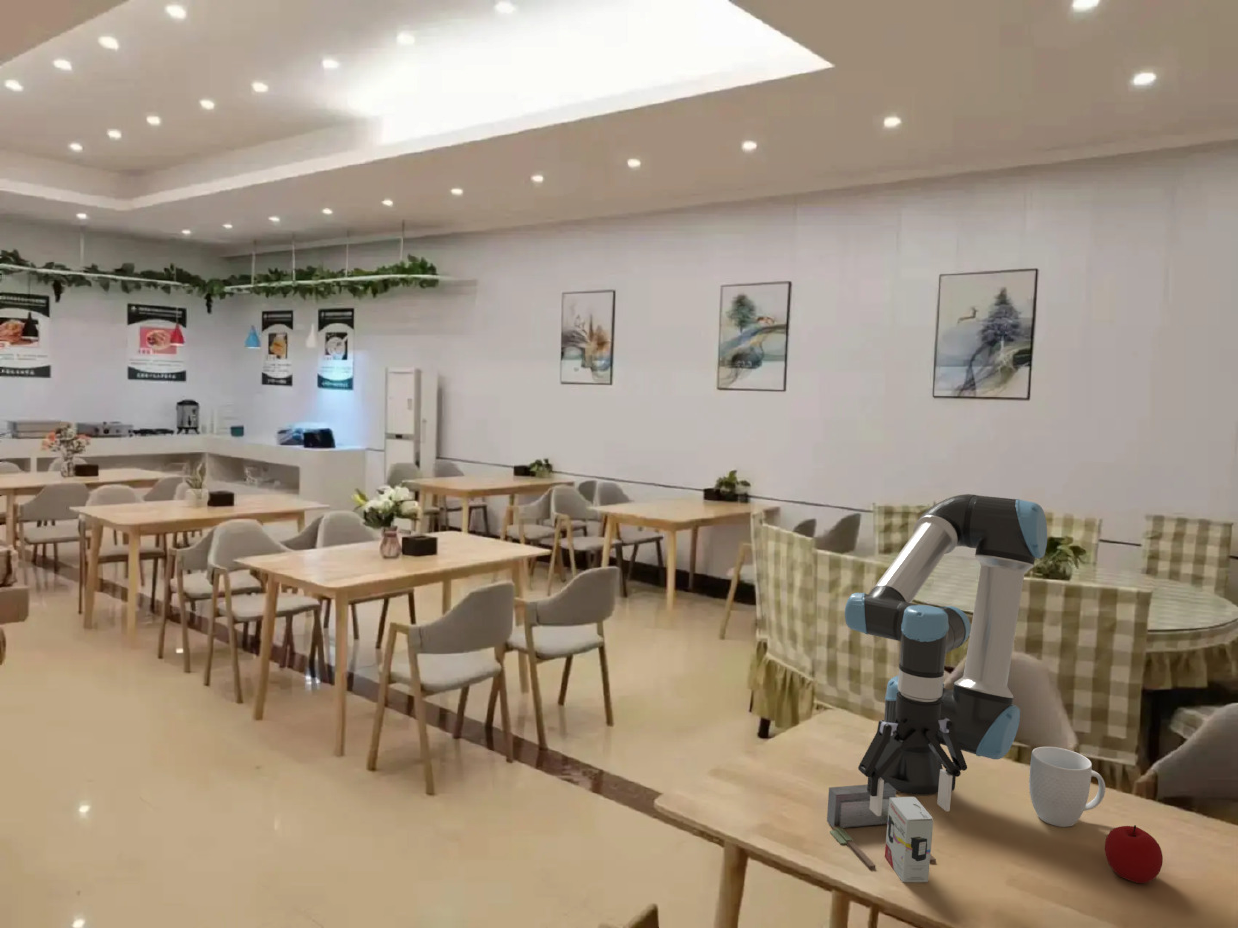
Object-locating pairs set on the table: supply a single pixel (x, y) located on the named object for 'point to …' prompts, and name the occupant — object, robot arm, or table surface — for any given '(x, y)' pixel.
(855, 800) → the grey block
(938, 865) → the table surface
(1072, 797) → the mug
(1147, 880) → the apple
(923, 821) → the ink box
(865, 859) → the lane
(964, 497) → the robot arm
